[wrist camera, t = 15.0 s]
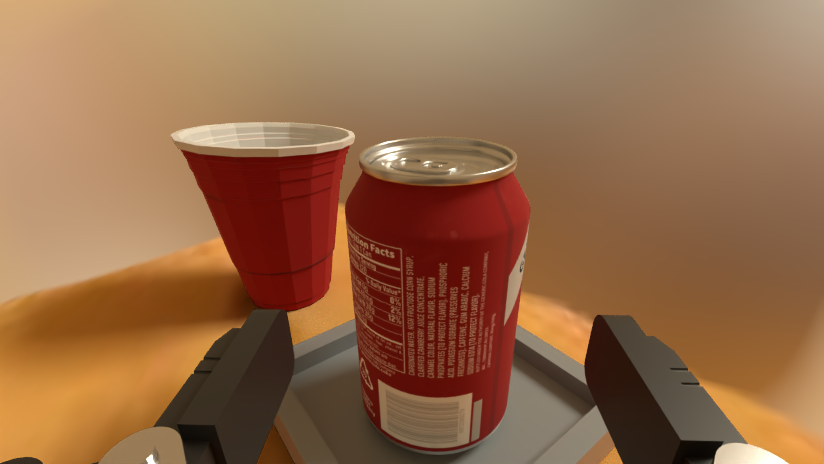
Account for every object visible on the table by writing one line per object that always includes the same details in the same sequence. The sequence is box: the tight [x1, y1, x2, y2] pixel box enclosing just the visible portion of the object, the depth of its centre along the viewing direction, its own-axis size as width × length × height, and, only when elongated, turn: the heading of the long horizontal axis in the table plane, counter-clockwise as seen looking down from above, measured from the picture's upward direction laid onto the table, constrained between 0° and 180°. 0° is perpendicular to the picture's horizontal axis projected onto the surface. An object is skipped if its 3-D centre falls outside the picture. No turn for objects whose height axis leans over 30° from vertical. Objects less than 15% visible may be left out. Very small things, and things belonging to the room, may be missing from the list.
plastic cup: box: [170, 122, 355, 311], centre depth 28 cm, size 11×11×12 cm
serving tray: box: [273, 319, 615, 464], centre depth 19 cm, size 13×13×2 cm
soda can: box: [345, 137, 530, 455], centre depth 17 cm, size 7×7×12 cm
